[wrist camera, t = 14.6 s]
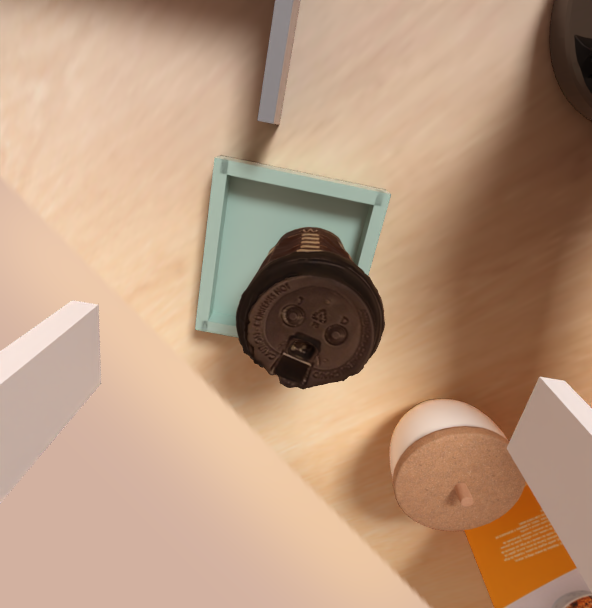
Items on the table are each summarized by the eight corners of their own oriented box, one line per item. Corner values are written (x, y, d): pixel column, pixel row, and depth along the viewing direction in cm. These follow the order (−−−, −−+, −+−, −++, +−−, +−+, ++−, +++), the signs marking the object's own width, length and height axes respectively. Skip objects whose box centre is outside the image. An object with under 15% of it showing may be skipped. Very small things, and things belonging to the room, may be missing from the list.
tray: (385, 189, 33) (391, 194, 30) (342, 343, 38) (345, 357, 36) (221, 155, 32) (214, 157, 30) (201, 317, 37) (195, 329, 35)
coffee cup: (283, 325, 37) (271, 419, 25) (237, 241, 34) (200, 303, 22) (375, 285, 35) (410, 366, 23) (336, 194, 32) (352, 234, 20)
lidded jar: (496, 451, 43) (544, 534, 34) (393, 476, 44) (415, 560, 36) (479, 365, 39) (528, 433, 30) (367, 395, 40) (383, 468, 32)
